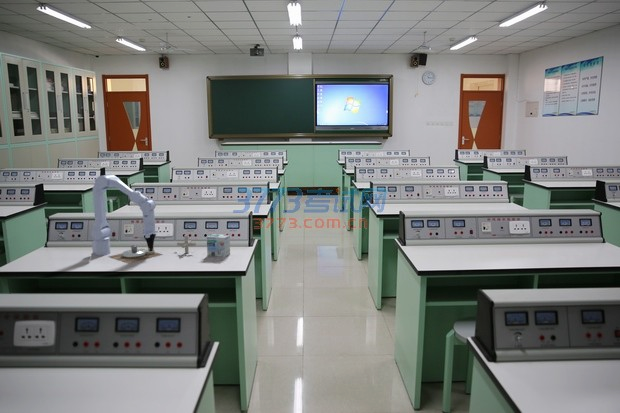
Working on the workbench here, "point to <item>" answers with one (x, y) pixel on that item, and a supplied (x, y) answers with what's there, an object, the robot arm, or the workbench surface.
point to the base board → (131, 260)
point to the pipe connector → (186, 243)
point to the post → (134, 248)
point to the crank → (137, 253)
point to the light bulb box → (218, 245)
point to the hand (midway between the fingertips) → (150, 248)
